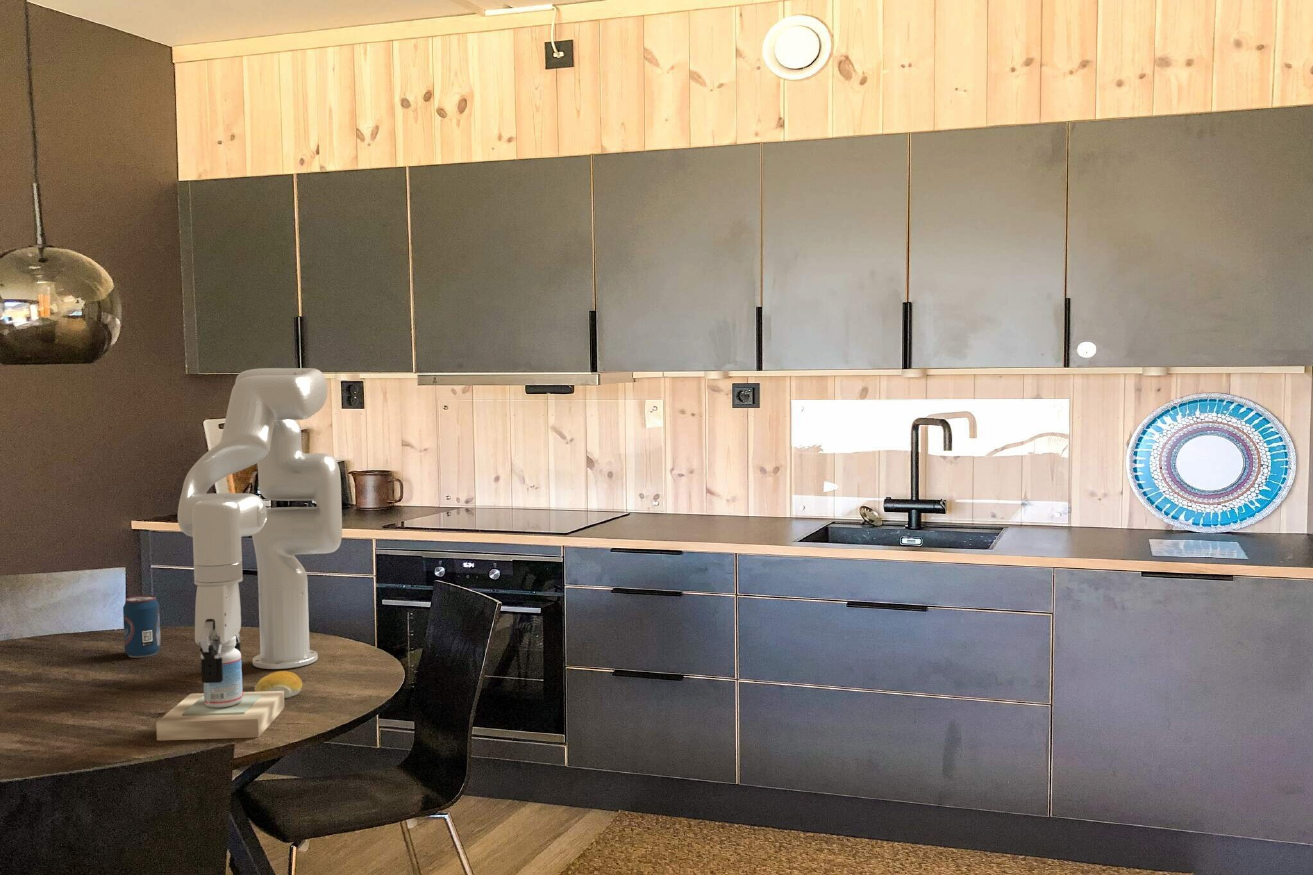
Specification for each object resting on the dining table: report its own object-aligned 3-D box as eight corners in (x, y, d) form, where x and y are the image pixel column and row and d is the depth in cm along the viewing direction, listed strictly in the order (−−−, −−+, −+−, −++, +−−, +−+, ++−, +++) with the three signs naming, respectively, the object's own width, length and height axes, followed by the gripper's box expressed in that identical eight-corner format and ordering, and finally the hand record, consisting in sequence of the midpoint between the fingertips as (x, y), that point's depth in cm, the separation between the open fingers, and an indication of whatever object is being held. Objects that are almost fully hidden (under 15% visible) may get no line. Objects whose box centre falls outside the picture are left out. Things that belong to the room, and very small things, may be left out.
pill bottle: (250, 700, 190) (248, 635, 190) (223, 710, 185) (220, 643, 184) (224, 696, 193) (221, 632, 192) (196, 706, 187) (193, 639, 187)
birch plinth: (191, 710, 196) (190, 691, 196) (284, 707, 197) (283, 689, 197) (156, 740, 180) (156, 720, 180) (258, 737, 181) (257, 717, 181)
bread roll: (303, 685, 212) (302, 664, 212) (299, 698, 203) (299, 677, 203) (257, 688, 210) (256, 667, 210) (251, 702, 201) (251, 680, 201)
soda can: (120, 654, 237) (118, 597, 236) (155, 648, 241) (152, 593, 240) (130, 660, 231) (128, 602, 231) (165, 654, 236) (163, 597, 235)
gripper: (212, 564, 196) (215, 661, 197) (176, 583, 178) (181, 689, 179) (256, 563, 196) (259, 660, 197) (225, 582, 179) (228, 688, 180)
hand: (222, 674), depth 188 cm, fingers open, 9 cm apart
